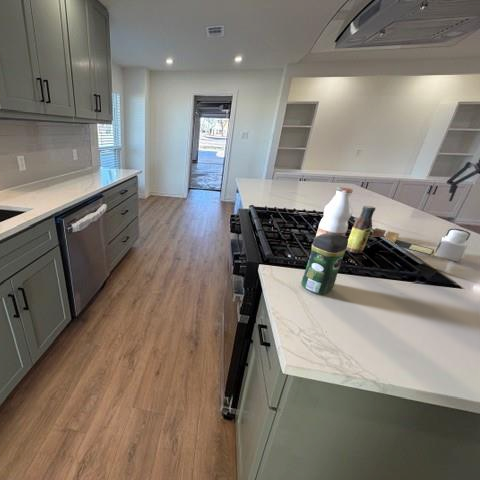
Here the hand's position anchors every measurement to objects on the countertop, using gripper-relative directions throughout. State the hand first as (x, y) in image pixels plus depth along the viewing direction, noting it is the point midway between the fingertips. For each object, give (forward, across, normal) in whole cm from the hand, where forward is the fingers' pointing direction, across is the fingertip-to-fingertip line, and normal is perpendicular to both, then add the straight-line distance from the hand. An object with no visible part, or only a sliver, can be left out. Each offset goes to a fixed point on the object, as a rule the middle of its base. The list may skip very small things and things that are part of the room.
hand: (474, 203), depth 105 cm
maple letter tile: (+22, -20, -4) cm, 31 cm away
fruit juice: (+34, -36, -45) cm, 67 cm away
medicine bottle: (+24, -2, -5) cm, 24 cm away
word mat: (+23, -17, -5) cm, 29 cm away
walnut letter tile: (+22, -25, -4) cm, 34 cm away
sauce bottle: (+30, -29, -30) cm, 51 cm away
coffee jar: (+42, -29, -72) cm, 89 cm away
